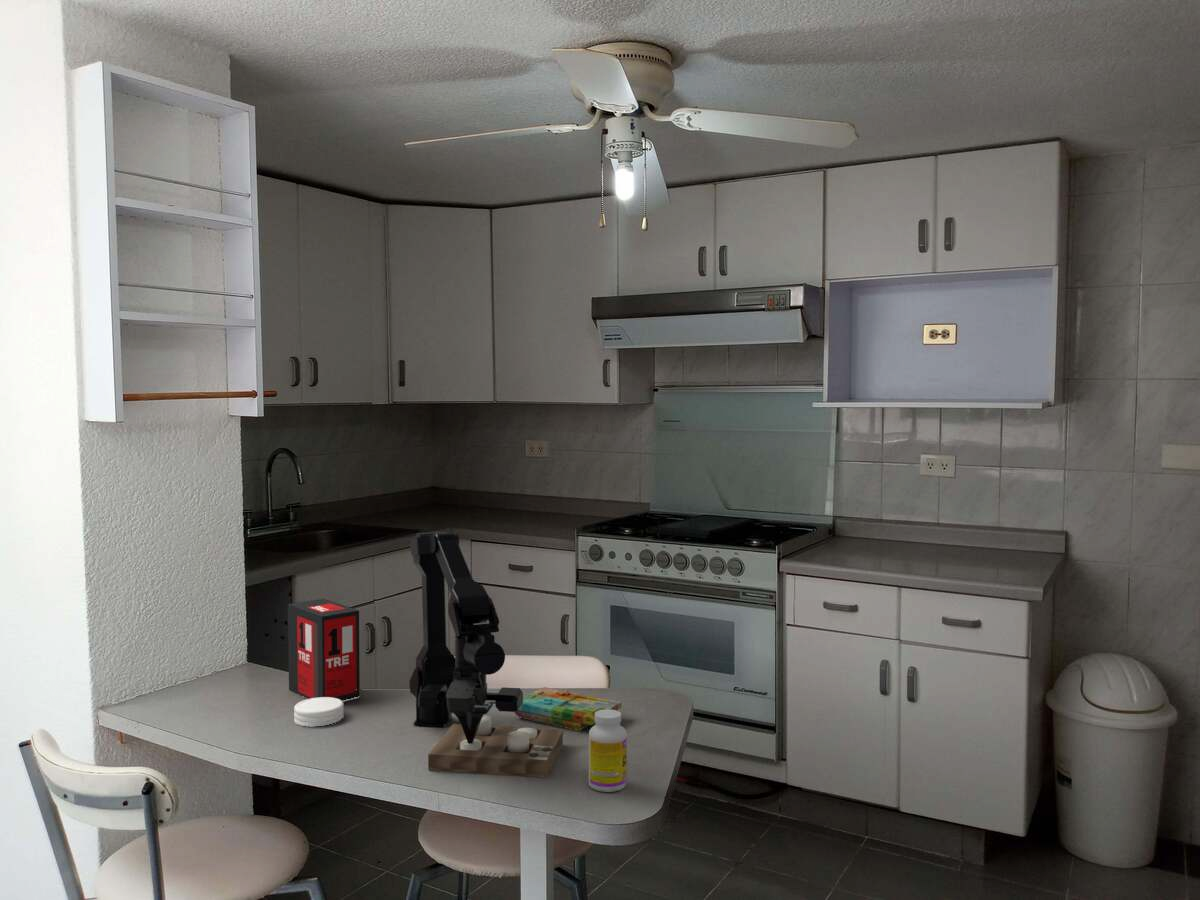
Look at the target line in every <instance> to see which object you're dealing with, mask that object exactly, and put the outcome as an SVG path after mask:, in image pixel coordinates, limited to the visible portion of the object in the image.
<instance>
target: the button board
mask: <svg viewBox="0 0 1200 900" xmlns="http://www.w3.org/2000/svg"><path fill="white" fill-rule="evenodd" d="M520 728H522V727H517V726H516V727H515V726H501V725H500V726H499V725H498V726H496V725H492V732H491V734H489V735H486V736H475V739H478V740H480V741H481V742H482V749H481V750H480V751H473V750H460V742H461V741H463V740H466V736H465V734H464V731H463V728H462V726H461V723H460V724H458V723H453V724H452V725H451V726H450V727H449V728H448V730H447V731H446V732H445V733H444V735H443V736H442V737H441V738H440V739H439V740H438V741H437V743H436V744H435V745H434V746H433V747H432V749H431V750H430V751H429V752H428V755H427V760H428V762H427V763H428V764H427V765H428V766H427V769H428V771H435V772H436V771H437V772H450V773H451V772H452V773H465V774H466V773H470V774H485V775H500V776H517V777H534V778H535V777H537V778H549V776H550V774H551V772H552V769H553V767H554V765H555V763H556V760H557V759H558V756H559V754H560V752H561V750H562V748H563V745H564V744H563V743H564V729H557V728H556V729H555V728H541V727H540V728H537V727H533V728H534V729H536V730H537V739H530V738H529V750H528V751H527V752H524V753H512V752H509V751H508V750H507V739H508V733H510V732H513V731H517V730H518V729H520Z"/></svg>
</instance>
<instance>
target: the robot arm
mask: <svg viewBox="0 0 1200 900" xmlns="http://www.w3.org/2000/svg"><path fill="white" fill-rule="evenodd" d="M459 538H460V537H459V535H458V533H454V531H453V532H452V531H451V532H447V531H431V532H418V533H416V534H415V537H414V538H412V539H410V542H409V543H410V544H409V546H410V549H409V550H410V554H411V556H412V558H413V559H412V560H413V561H412V562H413V564H414V566H415V567H416V569H417V570H418V572H419V573H420V575H421V594H422V596H421V598H422V600H421V601H422V602H421V603H422V632H423V633H422V634H423V635H422V636H423V637H422V638H423V640H422V641H423V646H421V647H422V648H421V649H420V651H419V652H418V653H417V656H416V657H415V658H416V659H415V668H414V669H413V672H412V674H411V677H410V678H409V692H410V693H411V694H412V696H414V698H415V706H416V707H415V710H416V714H415V715H416V716H415V718H416V719H415V720H414V722H413V724H412V725H413V726H418V727H419V726H421V727H441V728H442V727H445V726H446V724H448V722H449V721H450V720H451V719H452V718H453V714H454V715H455V716H456V718H457V719H458V721H459V723H460V724H461V726H462V728H463V731H464V734H465V736H466V739H467V742H468V743H470V744H472V743H473V742H474V739H475V736H476V733H477V730H478V728H479V725H480V722H481V719H482V717H483V715H487V714H488V713H489V712H490V710H491V709H492V708H493V706H494V705H495V708H496V709H497V710H498V711H499V712H505V713H506V712H507V713H515V711H517V710H518V709H519V707H520V706H521V704H522V703H523V697H524V693H523V691H522V689H521V688H520V687H501V689H500V690H499V691H498V692H488V683H487V675H488V676H489V675H490V676H491V675H493V674H496V673H497V672H499V671H500V670H501V669H502V668H503V665H504V664H505V661H506V653H505V650H504V648H503V647H502V646H501V644H499V643H498V642H497V641H495V637H496V636H495V635H494V634H492V633H499V632H500V629H499V625H500V619H499V617H498V613H497V610H496V608H495V604H494V602H493V600H492V598H491V596H489V594H488V592H487V590H486V588H485V587H484V585H482V584H481V583H479V582H477V581H475V580H474V578H473V576H472V573H471V571H470V568H469V567H468V564H467V561H466V559H465V556H464V554H463V552H462V549H461V547H460V540H459ZM445 582H446V584H447V587H448V591H449V593H450V596H449V600H448V606H447V610H448V611H447V613H448V617H449V620H450V622H451V625H452V628H453V631H454V634H455V636H454V645H455V647H454V654H452V652H451V651H450V649H449V648H448V646H447V627H446V623H447V621H446V587H445V585H446V584H445ZM487 622H488V623H487Z"/></svg>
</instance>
